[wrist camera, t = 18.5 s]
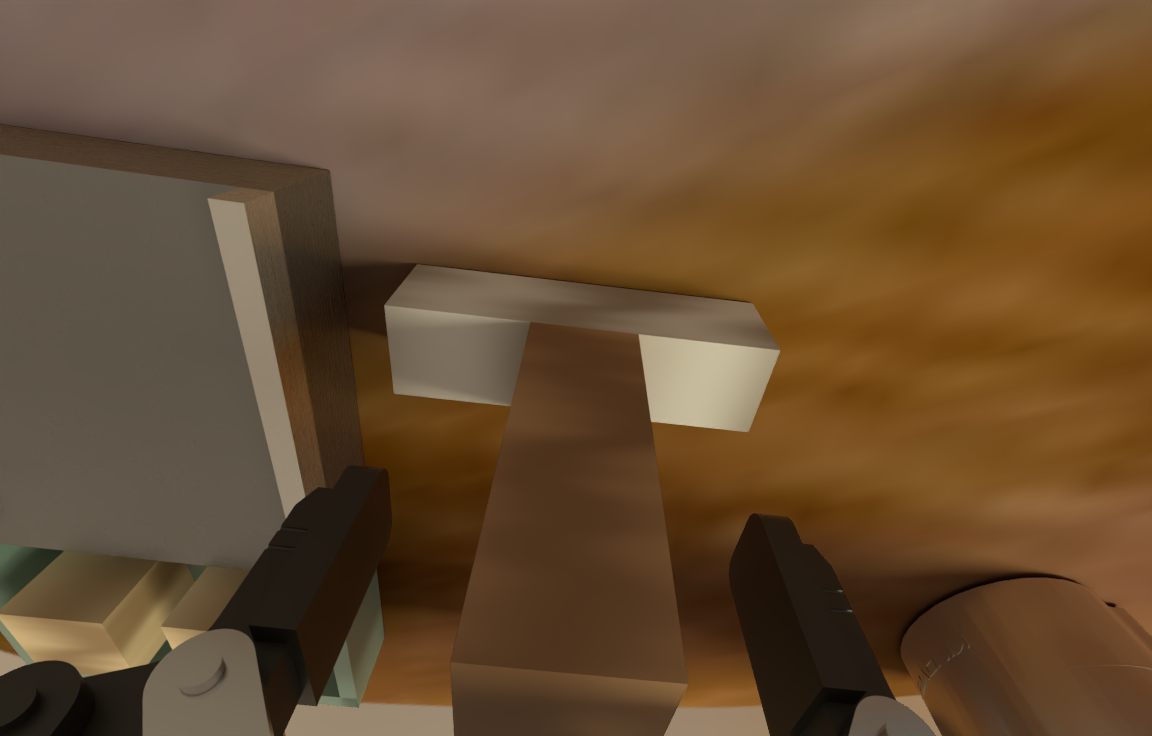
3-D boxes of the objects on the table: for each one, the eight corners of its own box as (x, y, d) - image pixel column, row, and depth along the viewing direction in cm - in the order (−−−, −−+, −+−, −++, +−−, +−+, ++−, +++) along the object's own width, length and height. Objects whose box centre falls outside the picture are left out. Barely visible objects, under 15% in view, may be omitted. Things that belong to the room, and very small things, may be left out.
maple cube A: (266, 637, 19) (283, 690, 21) (315, 552, 23) (326, 605, 25) (160, 626, 19) (188, 681, 21) (226, 542, 23) (244, 596, 25)
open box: (329, 170, 15) (243, 203, 11) (371, 521, 22) (328, 608, 19) (-206, 95, 14) (-480, 104, 11) (25, 482, 22) (-88, 564, 18)
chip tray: (371, 521, 22) (336, 591, 19) (384, 636, 27) (358, 707, 24) (25, 482, 22) (-66, 548, 19) (99, 607, 26) (36, 676, 23)
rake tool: (752, 303, 16) (995, 712, 6) (727, 377, 18) (889, 796, 8) (417, 264, 16) (120, 632, 6) (422, 343, 18) (197, 736, 8)
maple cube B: (101, 623, 19) (137, 678, 21) (176, 539, 23) (200, 594, 25) (-6, 613, 19) (40, 670, 21) (86, 531, 23) (117, 586, 25)
